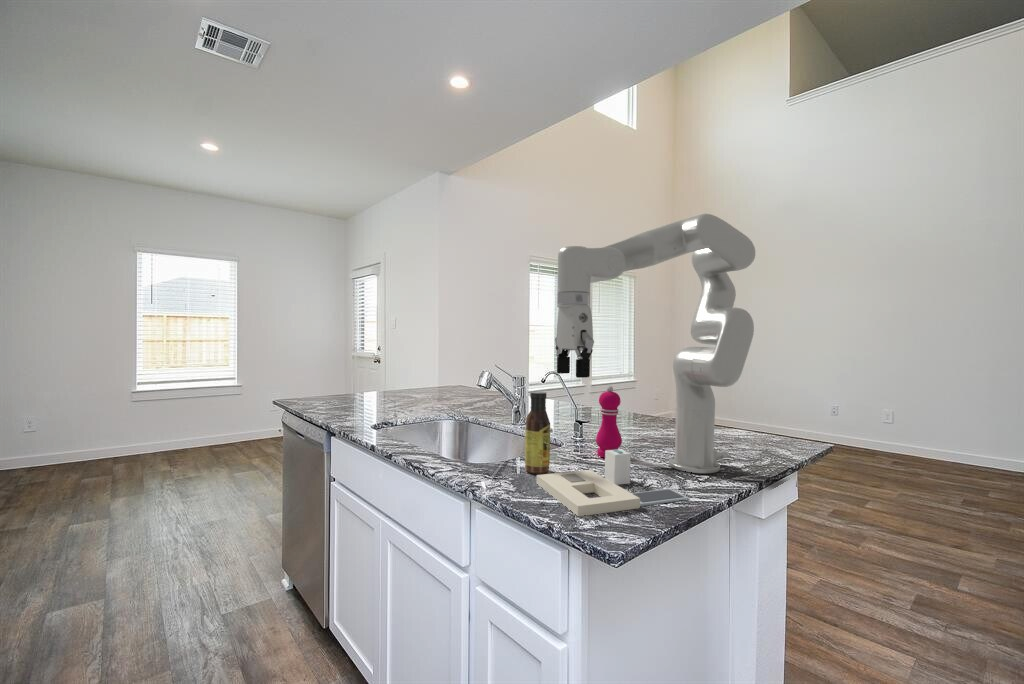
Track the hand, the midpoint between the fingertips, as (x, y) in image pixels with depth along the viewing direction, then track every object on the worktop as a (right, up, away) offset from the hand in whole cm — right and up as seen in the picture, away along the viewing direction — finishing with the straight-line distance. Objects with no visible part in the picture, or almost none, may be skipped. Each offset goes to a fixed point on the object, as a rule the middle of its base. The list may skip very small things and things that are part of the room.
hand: (572, 375), depth 108 cm
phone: (+17, -26, -8) cm, 32 cm away
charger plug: (+11, -25, +2) cm, 28 cm away
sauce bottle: (-8, -25, +9) cm, 28 cm away
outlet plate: (+2, -25, -7) cm, 26 cm away
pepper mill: (+13, -25, +24) cm, 37 cm away
